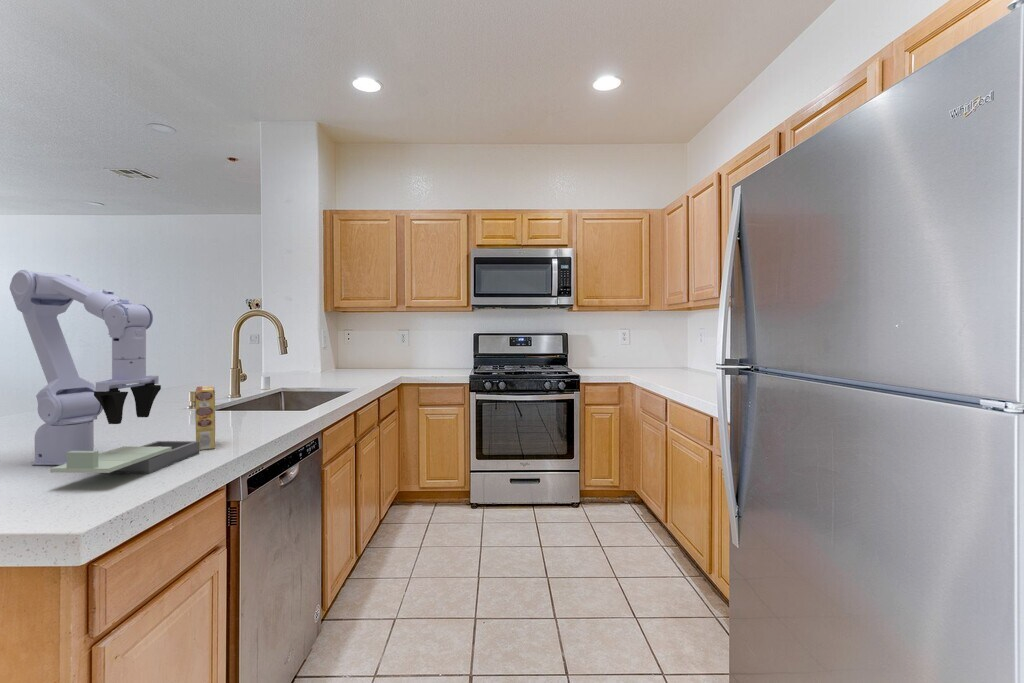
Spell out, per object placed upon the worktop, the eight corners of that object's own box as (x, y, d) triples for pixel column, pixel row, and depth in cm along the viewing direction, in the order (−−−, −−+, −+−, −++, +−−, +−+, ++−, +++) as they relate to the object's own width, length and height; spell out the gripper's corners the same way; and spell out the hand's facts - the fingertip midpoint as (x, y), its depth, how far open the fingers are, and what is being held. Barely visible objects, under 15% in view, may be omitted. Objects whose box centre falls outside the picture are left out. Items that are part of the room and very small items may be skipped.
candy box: (215, 449, 116) (215, 389, 116) (194, 451, 114) (195, 390, 113) (215, 441, 123) (215, 385, 123) (196, 443, 121) (196, 386, 121)
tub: (100, 473, 95) (100, 459, 95) (157, 453, 111) (157, 440, 111) (148, 473, 95) (148, 459, 95) (199, 453, 111) (199, 441, 111)
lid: (50, 472, 85) (50, 452, 85) (123, 450, 101) (123, 433, 101) (108, 472, 85) (108, 452, 85) (171, 450, 102) (171, 433, 102)
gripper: (120, 360, 93) (120, 427, 93) (171, 357, 107) (171, 414, 107) (84, 360, 93) (85, 426, 93) (141, 356, 107) (141, 414, 107)
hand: (129, 420), depth 100 cm, fingers open, 7 cm apart
